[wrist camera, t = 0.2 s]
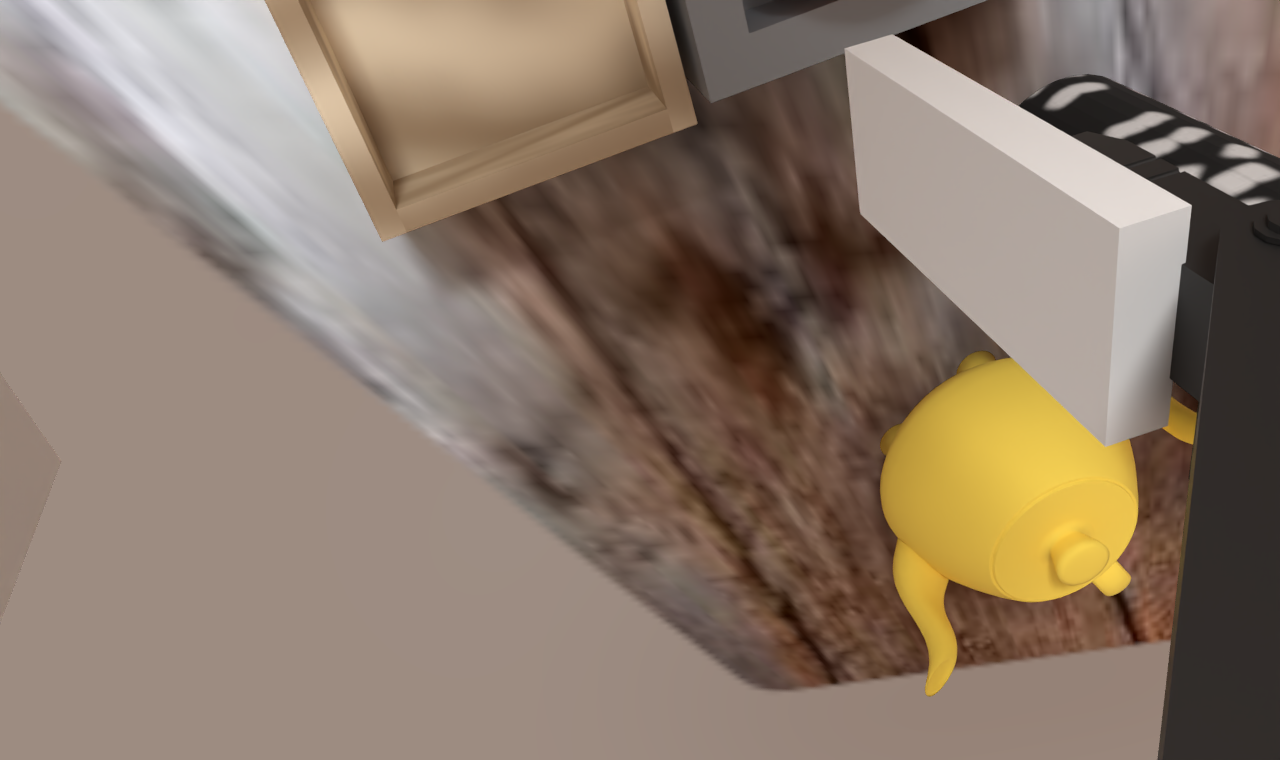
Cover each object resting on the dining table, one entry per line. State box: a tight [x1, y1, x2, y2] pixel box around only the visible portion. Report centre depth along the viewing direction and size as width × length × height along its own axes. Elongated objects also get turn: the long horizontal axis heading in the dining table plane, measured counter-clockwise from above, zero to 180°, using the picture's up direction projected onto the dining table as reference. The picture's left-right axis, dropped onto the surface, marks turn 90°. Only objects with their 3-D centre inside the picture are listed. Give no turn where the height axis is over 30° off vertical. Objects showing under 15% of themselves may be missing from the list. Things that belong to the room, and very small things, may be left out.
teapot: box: [880, 351, 1197, 696], centre depth 54 cm, size 20×15×12 cm
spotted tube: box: [1019, 74, 1280, 205], centre depth 42 cm, size 8×8×20 cm
